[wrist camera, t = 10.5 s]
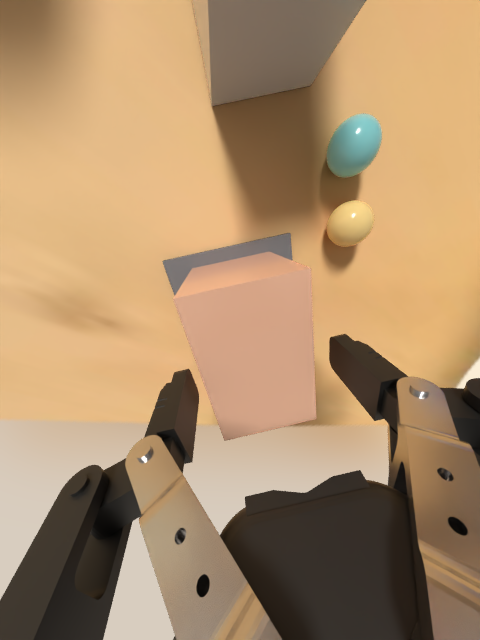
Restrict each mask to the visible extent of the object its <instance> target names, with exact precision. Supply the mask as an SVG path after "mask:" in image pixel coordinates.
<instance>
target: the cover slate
mask: <svg viewBox="0 0 480 640" xmlns="http://www.w3.org/2000/svg"><path fill="white" fill-rule="evenodd" d="M365 2H366V0H192V5H193V10H194V15H195V20H196V26H197V31H198V36H199V42H200V47H201V52H202V58H203V63H204V68H205V73H206V79H207V84H208V89H209V95H210V100H211V105H212V106H215V105H220V104H225V103H229V102H234V101H239V100H244V99H249V98H254V97H258V96H263V95H268V94H273V93H278V92H283V91H287V90H292V89H297V88H302V87H307V86H311V84H312V83H313V81H314V80H315V78H316V77H317V75H318V74H319V72H320V70H321V69H322V67H323V66H324V64H325V63H326V61H327V60H328V58H329V57H330V55H331V54H332V52H333V51H334V49H335V47H336V46H337V44H338V43H339V41H340V40H341V38H342V37H343V35H344V34H345V32H346V31H347V29H348V28H349V26H350V25H351V23H352V21H353V20H354V18H355V17H356V15H357V14H358V12H359V11H360V9H361V8H362V6H363V5H364V3H365Z"/></svg>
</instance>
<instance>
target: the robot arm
mask: <svg viewBox="0 0 480 640" xmlns="http://www.w3.org/2000/svg"><path fill="white" fill-rule="evenodd" d="M329 359H330V364H331V367H332V369H333V370H334V371H335V373H336V374H337V375H338V376H339V378H340V379H341V380H342V381H343V382H344V384H345V385H346V386H347V387H348V389H349V390H350V391H351V392H352V394H353V395H354V396H355V397H356V399H357V400H358V401H359V402H360V403H361V405H362V406H363V407H364V408H365V410H366V411H367V412H368V413H369V415H370V416H371V417H372V418H373V419H374V421H376V420H381V419H385V420H386V421H387V422H388V451H389V477H388V486H387V485H384V484H382V483H378V482H375V481H369V480H366V479H365V478H364V476H363V474H362V473H361V471H360V470H359V471H354V472H350V473H346V474H342V475H337V476H333V477H331V478H329V479H328V480H326V481H324V482H323V483H321V484H320V485H318V486H317V487H315V488H313V489H312V490H310V491H309V492H307V493H297V492H286V491H276V490H272V491H268V492H264V493H260V494H255V495H251V496H246V497H245V504H246V507H245V508H244V509H242V510H241V511H239V512H238V513H237V514H236V515H235V516H234V517H233V518H232V519H231V520H230V521H229V522H228V524H227V525H226V527H225V528H224V529H223V531H222V533H221V535H219V534H218V532H217V530H216V529H215V527H214V525H213V524H212V522H211V520H210V519H209V517H208V516H207V514H206V512H205V510H204V509H203V507H202V505H201V504H200V502H199V500H198V499H197V497H196V495H195V494H194V492H193V491H192V489H191V487H190V485H189V484H188V482H187V481H186V479H185V477H184V476H183V467H184V464H186V463H190V462H192V458H193V450H194V441H195V432H196V422H197V413H198V404H199V393H198V389H197V387H196V384H195V382H194V379H193V377H192V374H191V372H190V370H189V369H186V370H182V371H178V372H175V373H174V375H173V379H172V382H171V383H167V384H166V385H165V386H164V388H163V389H162V390H161V391H160V394H159V397H158V402H157V403H156V405H155V409H154V411H153V414H152V417H151V420H150V423H149V425H148V428H147V431H146V434H145V437H144V438H143V439H141V440H140V441H138V442H137V443H136V444H135V445H134V446H133V447H132V449H131V450H130V452H129V453H128V455H127V458H126V459H124V460H122V461H121V462H118V463H117V464H115V465H113V466H111V467H109V468H107V469H105V470H103V469H102V468H101V467H99V466H98V465H91V466H88V467H86V468H84V469H82V470H80V471H79V472H78V473H76V474H75V475H74V476H73V477H72V478H71V479H70V480H69V481H68V482H67V483H66V484H65V486H64V487H63V489H62V490H61V492H60V494H59V495H58V497H57V499H56V501H55V502H54V504H53V506H52V508H51V510H50V512H49V513H48V515H47V517H46V519H45V520H44V523H43V524H42V526H41V528H40V530H39V532H38V533H37V535H36V537H35V539H34V540H33V542H32V544H31V546H30V548H29V549H28V551H27V553H26V555H25V557H24V558H23V560H22V562H21V564H20V566H19V567H18V569H17V571H16V573H15V575H14V576H13V578H12V580H11V582H10V584H9V586H8V587H7V589H6V591H5V593H4V595H3V597H2V598H1V600H0V640H103V637H104V633H105V629H106V625H107V621H108V617H109V613H110V609H111V605H112V601H113V597H114V593H115V589H116V585H117V581H118V577H119V573H120V569H121V565H122V561H123V557H124V553H125V549H126V545H127V541H128V537H129V533H130V529H131V525H132V521H133V520H135V519H136V518H138V517H140V518H139V523H140V527H141V531H142V534H143V537H144V540H145V543H146V546H147V549H148V552H149V556H150V559H151V562H152V565H153V568H154V571H155V574H156V577H157V580H158V583H159V587H160V590H161V593H162V596H163V599H164V602H165V605H166V608H167V611H168V615H169V618H170V621H171V624H172V627H173V630H174V633H175V637H174V639H173V640H480V378H476V379H471V380H469V381H468V382H467V383H466V386H465V388H464V389H457V388H439V387H438V386H436V385H435V384H433V383H431V382H429V381H427V380H425V379H421V378H417V377H408V376H407V375H405V374H404V373H403V372H402V371H400V370H399V369H398V368H397V367H395V366H394V365H393V364H391V363H390V362H389V361H388V360H386V359H385V358H384V357H382V356H381V355H380V354H379V353H377V352H376V351H375V350H374V349H372V348H371V347H370V346H368V345H367V344H364V343H362V342H359V341H354V340H352V339H351V338H350V337H349V336H347V335H346V334H343V335H338V336H334V337H331V338H330V353H329Z"/></svg>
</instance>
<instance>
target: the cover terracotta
mask: <svg viewBox="0 0 480 640" xmlns="http://www.w3.org/2000/svg"><path fill="white" fill-rule="evenodd" d="M173 300H174V303H175V306H176V308H177V311H178V314H179V317H180V319H181V322H182V325H183V328H184V330H185V333H186V336H187V339H188V341H189V344H190V347H191V350H192V352H193V355H194V358H195V361H196V363H197V366H198V369H199V372H200V374H201V377H202V380H203V383H204V385H205V388H206V391H207V394H208V396H209V399H210V402H211V405H212V407H213V410H214V413H215V416H216V418H217V421H218V424H219V427H220V429H221V432H222V435H223V438H224V440H230V439H234V438H238V437H242V436H247V435H251V434H255V433H259V432H264V431H268V430H272V429H277V428H281V427H285V426H289V425H293V424H298V423H302V422H306V421H310V420H315V419H316V395H315V367H314V339H313V311H312V284H311V268H309V267H307V266H304V265H302V264H299V263H297V262H294V261H292V260H289V259H287V258H284V257H282V256H279V255H277V254H274V253H272V252H265V253H260V254H255V255H251V256H246V257H242V258H237V259H233V260H228V261H224V262H219V263H214V264H210V265H205V266H201V267H196V268H192V269H191V271H190V273H189V274H188V276H187V277H186V279H185V280H184V282H183V284H182V285H181V287H180V288H179V290H178V292H177V293H176V295H175V296H174V298H173Z"/></svg>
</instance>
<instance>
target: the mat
mask: <svg viewBox="0 0 480 640" xmlns="http://www.w3.org/2000/svg"><path fill="white" fill-rule="evenodd" d="M265 252H272V253H274V254H277V255H279V256H282V257H284V258H287V259H289V260H292V248H291V235H290V233H287V234H282V235H278V236H273V237H269V238H264V239H260V240H255V241H250V242H246V243H241V244H237V245H232V246H228V247H223V248H219V249H214V250H210V251H205V252H201V253H196V254H191V255H187V256H182V257H178V258H173V259H169V260H164V261H162V262H163V264H164V267H165V270H166V273H167V275H168V278H169V281H170V284H171V287H172V289H173V292H174V295H176V293H177V292H178V290H179V288H180V287H181V285H182V284H183V282H184V280H185V279H186V277H187V276H188V274H189V273H190V271H191V269H192V268H196V267H201V266H205V265H210V264H214V263H219V262H224V261H228V260H233V259H237V258H242V257H246V256H251V255H255V254H260V253H265Z"/></svg>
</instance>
